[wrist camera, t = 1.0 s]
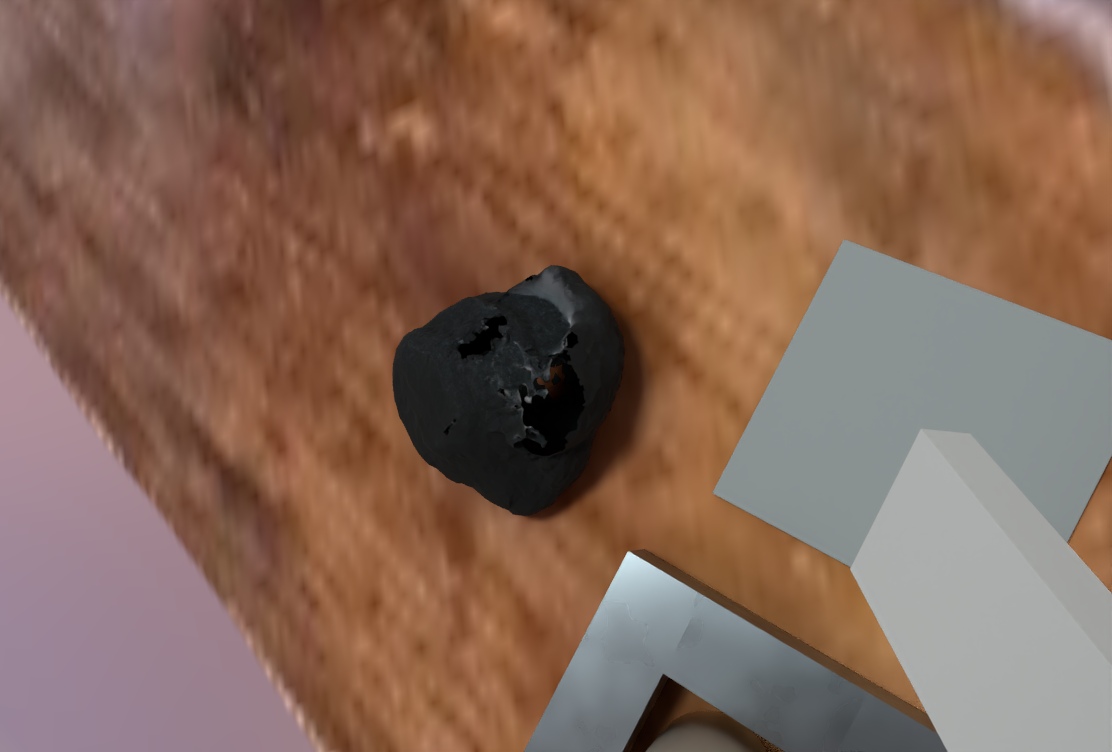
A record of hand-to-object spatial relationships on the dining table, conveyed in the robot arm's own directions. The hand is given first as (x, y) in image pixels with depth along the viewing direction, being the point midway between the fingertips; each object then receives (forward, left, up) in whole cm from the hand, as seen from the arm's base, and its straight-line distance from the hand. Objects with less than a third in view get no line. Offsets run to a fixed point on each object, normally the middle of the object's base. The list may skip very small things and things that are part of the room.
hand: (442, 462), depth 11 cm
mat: (-7, +6, -24) cm, 26 cm away
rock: (0, -10, -25) cm, 27 cm away
